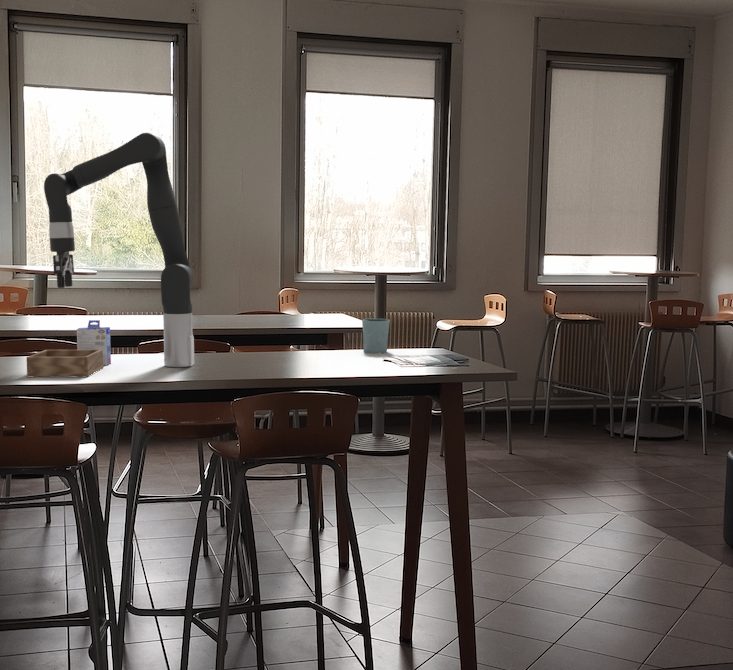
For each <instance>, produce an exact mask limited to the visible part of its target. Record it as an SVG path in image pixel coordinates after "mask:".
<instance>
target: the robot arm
mask: <svg viewBox="0 0 733 670" xmlns="http://www.w3.org/2000/svg"><path fill="white" fill-rule="evenodd" d="M139 163H141V164H142V166H143V171H144V174H145V178H146V186H147V187H146V188H147V189H146V202H147V203H146V205H147V211H148V215H149V220H150V224H151V228H152V230H153V232H154V235H155V237H156V240H157V241H158V244H159V246H160V248H161V252H162V255H163V261H164V268H163V270H162V271H161V275H160V296H161V297H160V298H161V305H162V309H163V311H162V312H163V313H162V316H163V358H164V359H163V363H164V365H163V366H164V367H169V368H183V367H184V368H185V367H193V366H194V365H195V337H194V335H193V332H194V331H193V304H192V302H191V301H192V300H191V286H192V284H193V281H194V273H193V271H192V267H191V264H190V261H189V258H188V255H187V253H186V249H185V244H184V236H183V230H182V223H181V218H180V212H179V208H178V204H177V201H176V195H175V193H174V190H173V185H172V183H171V178H170V175H169V167H168V161H167V149H166V145H165V143H164V141H163V139H162V138H160V136H158V135H156V134H154V133H151V132H141V133H140V134H138V135H137V136H135V137H134V138H132V139H130V140H129V141H127V142H125V143H124V144H123V145H121V146H119V147H117V148H115V149H113V150H111V151H108V152H106V153H104V154H100V155H98V156H96V157H94V158H91V159H89V160H86V161H84V162H81V163H79V164H76V165H75V166H73V168H72V169H70V170H69V171H65V172H63V173H55V172H54V173H50V174H48V175H47V176H46V178H45V179H44V183H43V189H44V195H45V196H44V197H45V201H46V204H47V207H48V219H49V223H48V226H49V227H48V234H49V248H50V250H49V251H51V253H56V254H55V255H52V259H53V261H52V264H53V275H55V276H56V287H57V289H64V288H65V287H72V286H73V273H75V267H74V254H70V252H75V250H76V243H75V231H74V225H73V214H72V213H73V212H72V208H71V205H69V203H68V195H71V194H74V193H76V192H77V191H79V190H81V189H82V188H84V187H87V186H89V185H92V184H95V183H97V182H99V181H102V180H103V179H106V178H108V177H109V176H111V175H112V174H114V173H116V172H118V171H119V170H121V169H123V168H126V167H128V166H131V165H134V164H139Z"/></svg>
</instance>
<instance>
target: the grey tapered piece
mask: <svg viewBox="0 0 733 670" xmlns="http://www.w3.org/2000/svg"><path fill="white" fill-rule="evenodd" d="M361 322H362V339H363V340H362V341H363V342H362V344H363V353H365V354H385V353H388V341H389V333H390V332H389V330H390V324H391V323H390V322H391V321H390V319H387V318H380V317H379V318H373V317H371V318H368V317H367V318H363V319H362V321H361Z"/></svg>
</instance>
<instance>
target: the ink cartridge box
mask: <svg viewBox="0 0 733 670" xmlns="http://www.w3.org/2000/svg"><path fill="white" fill-rule="evenodd" d="M93 323H96V324H93ZM100 323H101V321H100V319H98V320H89V319H88V323H87V324H88V325H87V327H79V328H77V329H76V348H77V349H76V350H103V366H108V365H111V364H112V358H111V357H112V356H111V355H112V354H111V328H110V327H109V326H108V327H106V326H105V327H103V326H101V325H100Z"/></svg>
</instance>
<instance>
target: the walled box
mask: <svg viewBox="0 0 733 670" xmlns="http://www.w3.org/2000/svg"><path fill="white" fill-rule="evenodd" d="M102 368H103V369H104V365H103V350H77V349H44V350H42V351H39V352H37V353H34V354H31V355H29V356H27V357H26V377H27V376H89V375H91V374H93V373H94V372H96V371H98V370H99V371H101V370H102ZM100 369H101V370H100ZM99 371H98V372H99ZM96 373H97V372H96ZM94 374H95V373H94ZM94 374H93V375H94ZM91 376H92V375H91ZM89 377H90V376H89Z"/></svg>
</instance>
